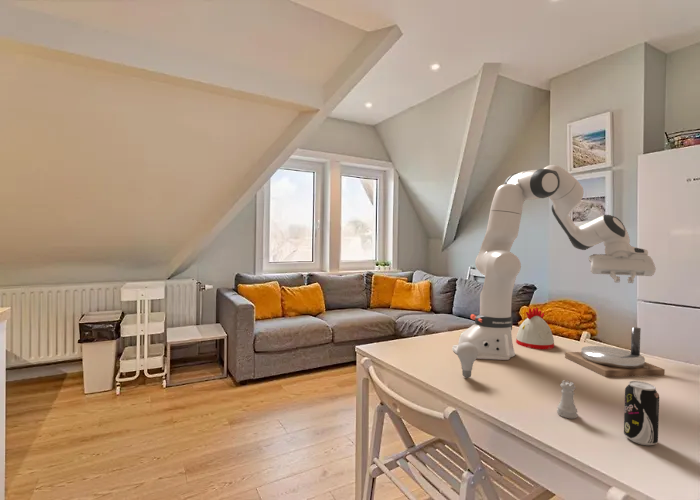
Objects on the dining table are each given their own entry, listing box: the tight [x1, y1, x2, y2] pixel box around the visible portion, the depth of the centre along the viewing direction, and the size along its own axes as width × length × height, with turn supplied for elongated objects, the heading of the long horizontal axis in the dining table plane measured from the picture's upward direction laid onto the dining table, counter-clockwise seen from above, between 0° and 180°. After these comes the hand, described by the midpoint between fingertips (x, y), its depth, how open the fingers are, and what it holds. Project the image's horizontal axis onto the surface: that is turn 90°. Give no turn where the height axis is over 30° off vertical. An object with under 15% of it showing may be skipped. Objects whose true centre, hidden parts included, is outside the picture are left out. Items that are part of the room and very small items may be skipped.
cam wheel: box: [580, 326, 646, 368], centre depth 126 cm, size 19×18×11 cm
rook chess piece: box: [556, 380, 579, 420], centre depth 90 cm, size 4×4×8 cm
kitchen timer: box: [515, 307, 555, 350], centre depth 152 cm, size 14×14×15 cm
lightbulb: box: [456, 342, 478, 379], centre depth 114 cm, size 6×6×11 cm
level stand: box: [564, 351, 666, 378], centre depth 126 cm, size 20×19×2 cm
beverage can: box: [623, 380, 660, 447], centre depth 79 cm, size 6×6×12 cm
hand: (624, 281), depth 139 cm, fingers open, 3 cm apart
